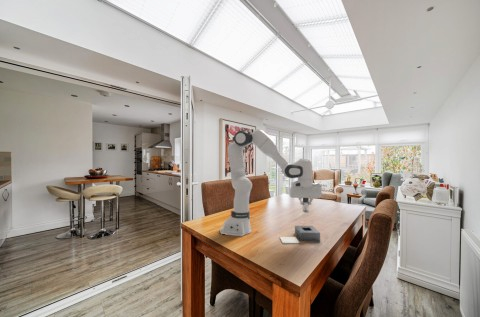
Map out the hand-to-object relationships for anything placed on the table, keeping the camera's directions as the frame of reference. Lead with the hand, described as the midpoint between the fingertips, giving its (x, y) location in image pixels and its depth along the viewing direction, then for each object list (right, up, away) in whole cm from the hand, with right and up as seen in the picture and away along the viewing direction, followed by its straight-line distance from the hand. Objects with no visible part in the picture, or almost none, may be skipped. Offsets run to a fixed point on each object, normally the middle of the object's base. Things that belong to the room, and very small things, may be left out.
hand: (305, 204), depth 114 cm
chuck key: (0, -5, 0) cm, 5 cm away
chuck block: (+1, -21, -1) cm, 21 cm away
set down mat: (-13, -21, -6) cm, 25 cm away
